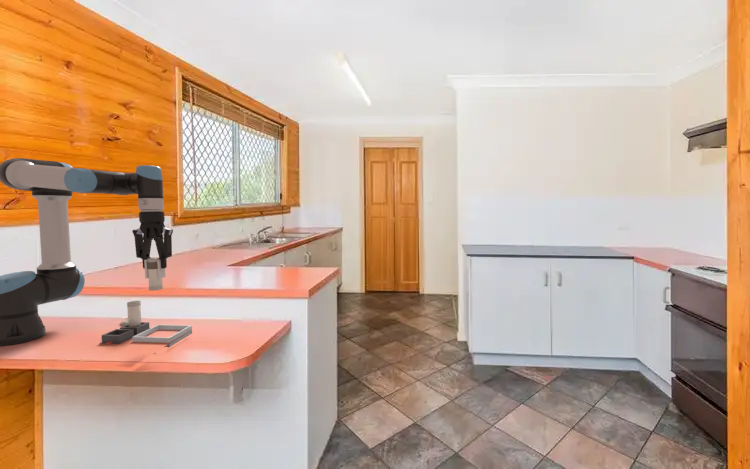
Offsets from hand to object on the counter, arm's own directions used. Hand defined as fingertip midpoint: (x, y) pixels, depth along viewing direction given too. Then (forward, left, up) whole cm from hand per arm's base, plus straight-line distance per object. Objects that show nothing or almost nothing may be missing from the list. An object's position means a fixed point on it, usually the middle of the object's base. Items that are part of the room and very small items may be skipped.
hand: (155, 277), depth 126 cm
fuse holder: (-12, 0, -23) cm, 25 cm away
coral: (-23, +16, -23) cm, 36 cm away
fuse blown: (0, 0, -4) cm, 4 cm away
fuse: (-12, +4, -21) cm, 24 cm away
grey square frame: (+1, +1, -23) cm, 23 cm away
